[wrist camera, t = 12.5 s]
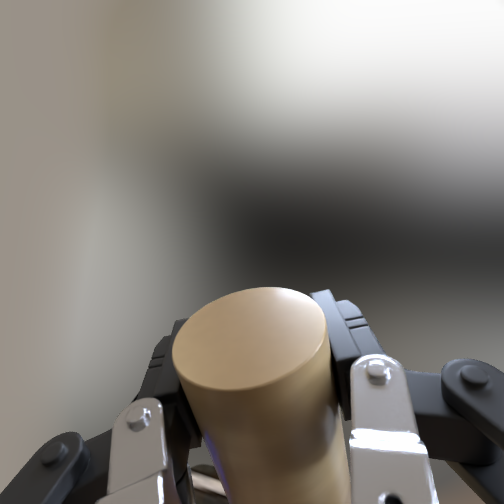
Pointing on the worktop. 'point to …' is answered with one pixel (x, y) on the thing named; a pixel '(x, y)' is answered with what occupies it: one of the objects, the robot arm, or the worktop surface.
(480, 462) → the robot arm
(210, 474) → the worktop surface
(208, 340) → the post
